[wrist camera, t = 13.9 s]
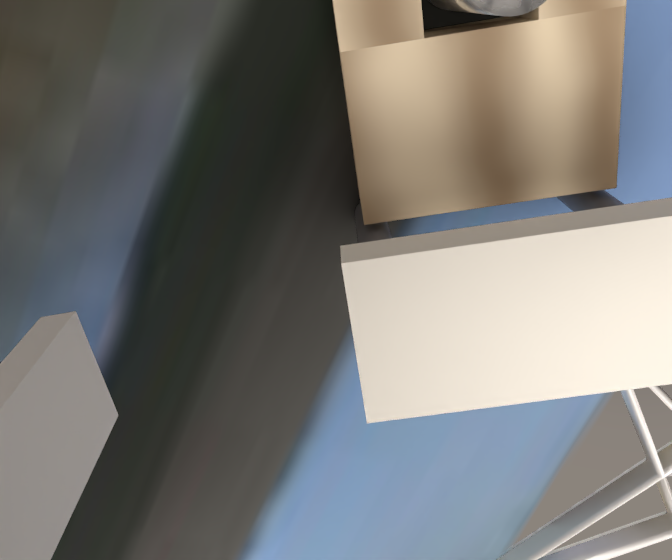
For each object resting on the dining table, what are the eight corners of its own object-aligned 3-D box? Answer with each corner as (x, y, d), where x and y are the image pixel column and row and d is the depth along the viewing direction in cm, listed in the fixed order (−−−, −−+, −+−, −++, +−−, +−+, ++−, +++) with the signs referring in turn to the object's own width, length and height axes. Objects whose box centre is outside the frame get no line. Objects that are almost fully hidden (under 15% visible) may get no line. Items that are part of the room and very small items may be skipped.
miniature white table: (349, 230, 40) (366, 423, 22) (334, 134, 37) (341, 263, 19) (589, 195, 39) (816, 365, 21) (593, 94, 36) (857, 188, 18)
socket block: (359, 193, 39) (364, 224, 33) (316, -112, 31) (313, -135, 26) (575, 160, 38) (616, 187, 33) (582, -160, 31) (636, -194, 25)
